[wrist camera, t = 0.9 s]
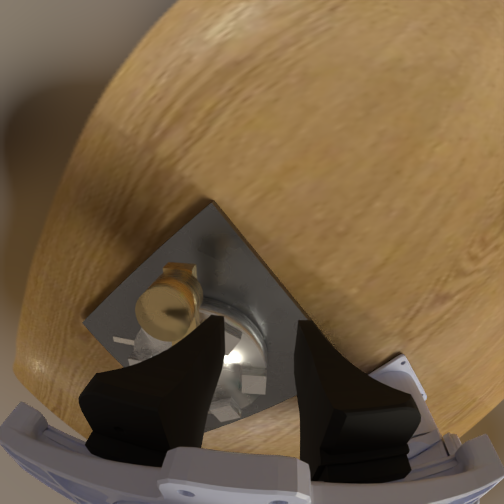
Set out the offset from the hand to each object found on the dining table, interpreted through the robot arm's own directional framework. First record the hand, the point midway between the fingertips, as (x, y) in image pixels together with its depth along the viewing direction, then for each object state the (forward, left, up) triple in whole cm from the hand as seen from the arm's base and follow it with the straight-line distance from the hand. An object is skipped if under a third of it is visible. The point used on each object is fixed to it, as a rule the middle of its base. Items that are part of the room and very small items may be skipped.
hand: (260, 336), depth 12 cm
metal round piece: (-1, +8, -8) cm, 11 cm away
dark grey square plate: (-3, +9, -9) cm, 13 cm away
